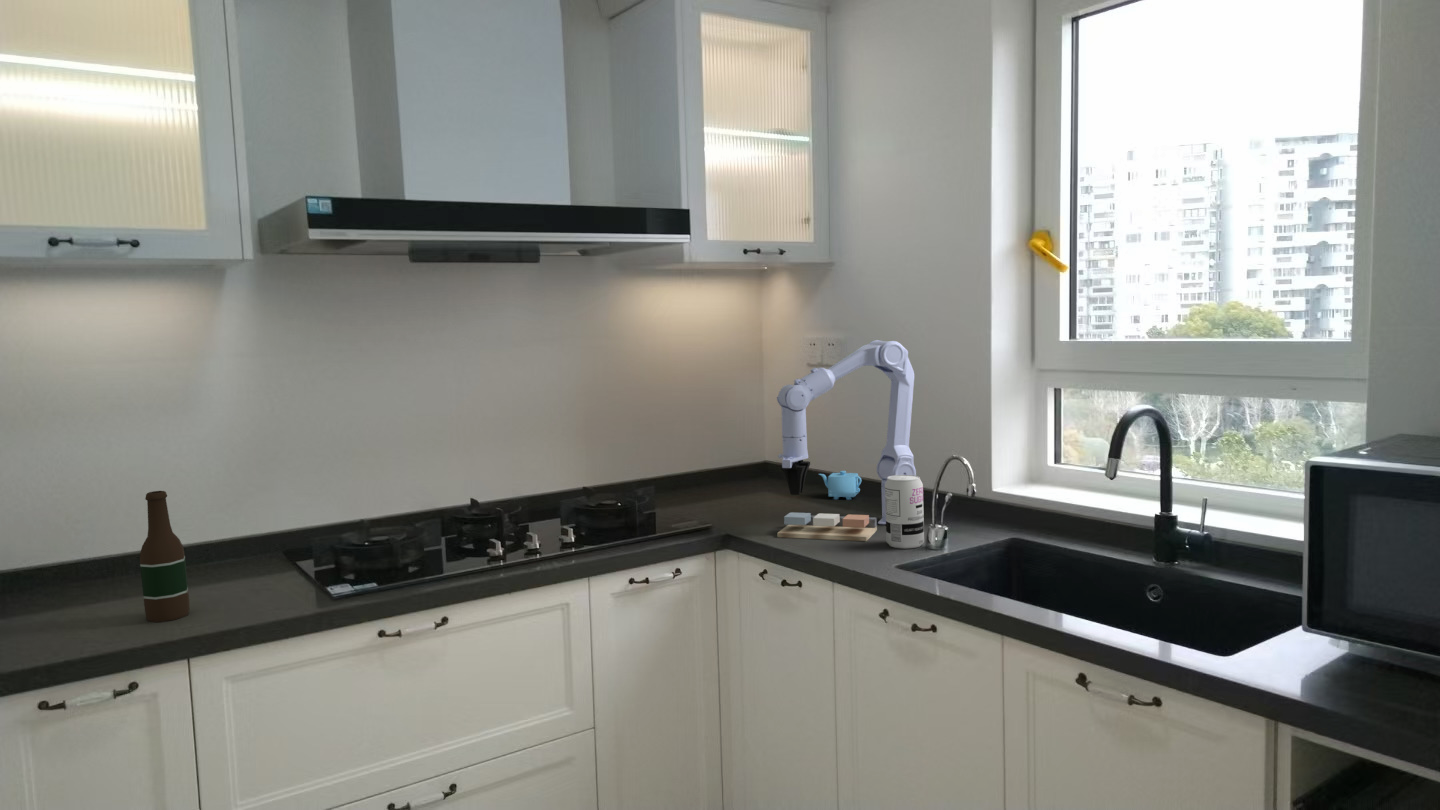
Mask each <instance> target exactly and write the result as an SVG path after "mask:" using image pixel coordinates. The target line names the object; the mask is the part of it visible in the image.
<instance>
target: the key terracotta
mask: <svg viewBox="0 0 1440 810" xmlns="http://www.w3.org/2000/svg"><path fill="white" fill-rule="evenodd" d="M844 516H845V517H844V518H843V527H861V528H864V527H865V526H866V525H867V524H868V523H869V517H870V515H869V514H850V513H848V514H847V515H844Z"/></svg>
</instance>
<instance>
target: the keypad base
mask: <svg viewBox="0 0 1440 810" xmlns="http://www.w3.org/2000/svg"><path fill="white" fill-rule="evenodd" d="M816 515H817V514H816ZM816 515H814V514H812V515H811V521H810V522H808V523H807V524H806V525H787V524H786V526H785V527H783V528H782V529H780V530H779V531H778V532H777V535H776V536H777V538H789V539H809V540H810V539H811V540H813V539H814V540H830V541H831V540H833V541H834V540H835V541H852V542H853V541H854V542H855V541H857V542H868V541H869V539H870V538H871V537H872V536H873V535H874V534H875V533H876V532H877V530H878V522H877V521H878V520H877V519H878V518H877V517H875V516H874V517H870V516H869V523H868V524H867V525H866V526H865V527H864V528H861V527H843V518H844V517H845V516H846V515H843V516H842V515H841V516H840V515H839V516H840V522H839V523H838V524H836V525H835V526H813V518H814V517H815V516H816Z"/></svg>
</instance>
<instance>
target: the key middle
mask: <svg viewBox="0 0 1440 810" xmlns="http://www.w3.org/2000/svg"><path fill="white" fill-rule="evenodd" d="M839 522H840V513H822V512H821V513H817V514H816V516H815V517H814V518H813V526H835V525H836V524H838V523H839Z"/></svg>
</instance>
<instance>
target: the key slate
mask: <svg viewBox="0 0 1440 810" xmlns="http://www.w3.org/2000/svg"><path fill="white" fill-rule="evenodd" d="M811 514H812V513H811V512H789V513H787V514H786V515H785V516H783V523H784V524H783V525H786V526H787V525H806V524H807V523H808V522H810V521H811Z"/></svg>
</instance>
